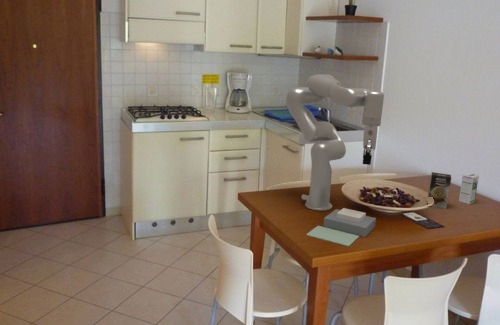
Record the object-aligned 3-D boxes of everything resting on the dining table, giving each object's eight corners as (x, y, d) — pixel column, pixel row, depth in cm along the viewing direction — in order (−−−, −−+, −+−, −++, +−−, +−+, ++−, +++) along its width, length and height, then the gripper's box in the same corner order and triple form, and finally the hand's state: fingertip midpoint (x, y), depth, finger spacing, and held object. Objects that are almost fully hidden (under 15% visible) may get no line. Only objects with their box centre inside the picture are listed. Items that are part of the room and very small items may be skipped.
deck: (323, 226, 204) (324, 218, 203) (335, 217, 216) (336, 209, 215) (364, 237, 195) (365, 228, 194) (374, 226, 207) (376, 218, 206)
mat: (306, 235, 194) (306, 234, 194) (317, 226, 204) (317, 225, 204) (348, 246, 185) (348, 245, 185) (359, 236, 196) (359, 235, 195)
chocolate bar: (428, 228, 207) (400, 214, 223) (428, 230, 208) (400, 215, 224) (444, 226, 211) (415, 212, 227) (444, 228, 211) (415, 214, 227)
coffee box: (426, 206, 238) (431, 174, 234) (426, 202, 244) (431, 171, 240) (446, 209, 235) (451, 177, 231) (445, 205, 241) (450, 174, 237)
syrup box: (469, 204, 244) (474, 177, 240) (458, 201, 248) (462, 174, 245) (474, 202, 247) (479, 175, 244) (463, 199, 252) (468, 172, 248)
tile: (336, 217, 205) (336, 212, 204) (343, 212, 211) (343, 207, 211) (359, 222, 200) (359, 218, 199) (365, 217, 206) (365, 213, 206)
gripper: (381, 125, 190) (376, 167, 194) (380, 119, 206) (375, 157, 211) (361, 123, 192) (356, 165, 196) (362, 117, 208) (357, 156, 212)
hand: (366, 161), depth 203 cm, fingers open, 9 cm apart
